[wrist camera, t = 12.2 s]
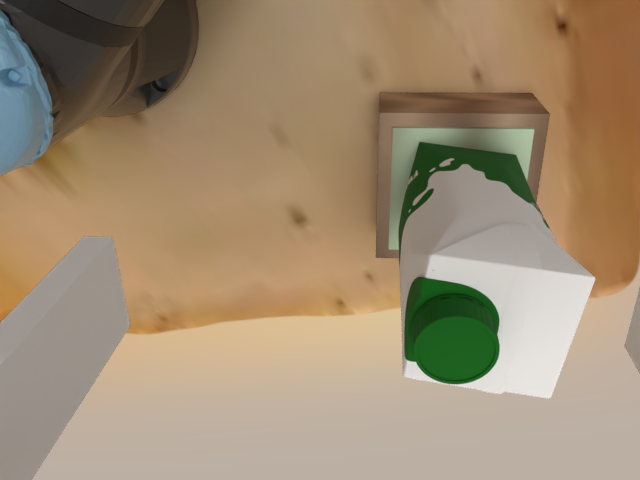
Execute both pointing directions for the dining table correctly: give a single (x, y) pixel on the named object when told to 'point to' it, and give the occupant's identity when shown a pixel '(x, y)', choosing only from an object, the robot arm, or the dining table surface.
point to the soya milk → (483, 276)
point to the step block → (450, 141)
